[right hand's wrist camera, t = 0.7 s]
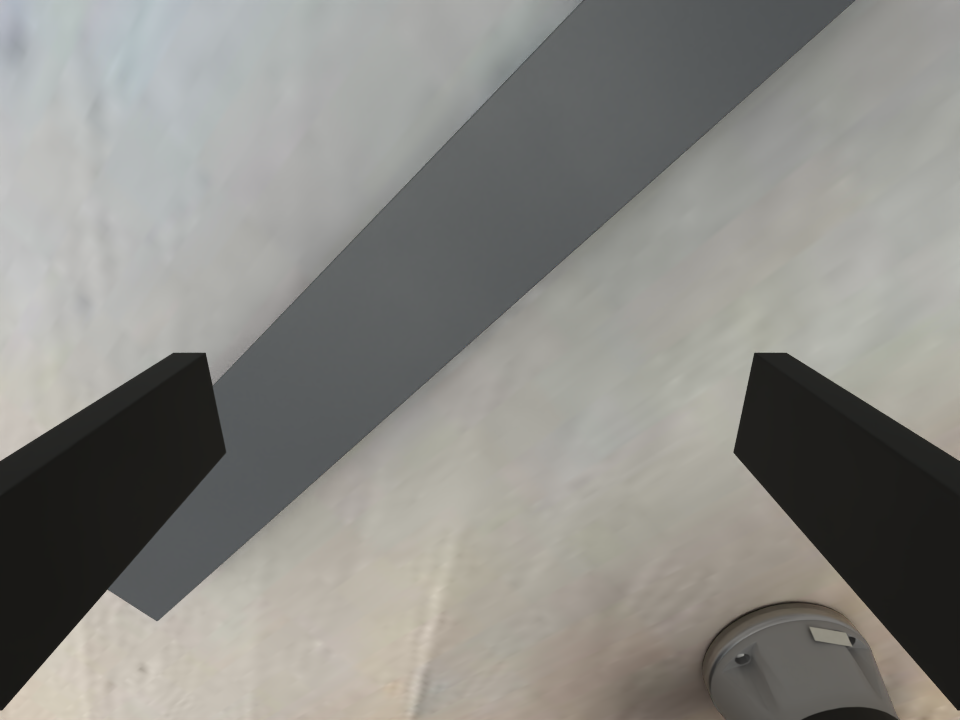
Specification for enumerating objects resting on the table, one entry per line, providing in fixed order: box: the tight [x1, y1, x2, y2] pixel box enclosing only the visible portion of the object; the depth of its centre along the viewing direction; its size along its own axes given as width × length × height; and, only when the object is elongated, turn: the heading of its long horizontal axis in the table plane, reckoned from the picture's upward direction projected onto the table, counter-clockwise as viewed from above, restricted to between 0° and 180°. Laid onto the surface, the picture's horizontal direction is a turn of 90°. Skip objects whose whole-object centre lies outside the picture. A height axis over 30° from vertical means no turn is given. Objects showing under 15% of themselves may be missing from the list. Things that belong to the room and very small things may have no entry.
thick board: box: [108, 0, 855, 621], centre depth 34 cm, size 67×9×6 cm, turn 133°
